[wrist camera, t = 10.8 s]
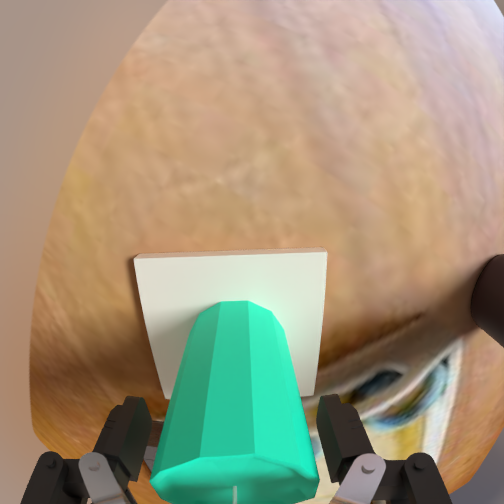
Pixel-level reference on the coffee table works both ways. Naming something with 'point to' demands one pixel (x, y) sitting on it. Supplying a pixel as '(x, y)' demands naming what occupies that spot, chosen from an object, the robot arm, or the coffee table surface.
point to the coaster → (233, 289)
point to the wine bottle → (490, 300)
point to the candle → (235, 416)
